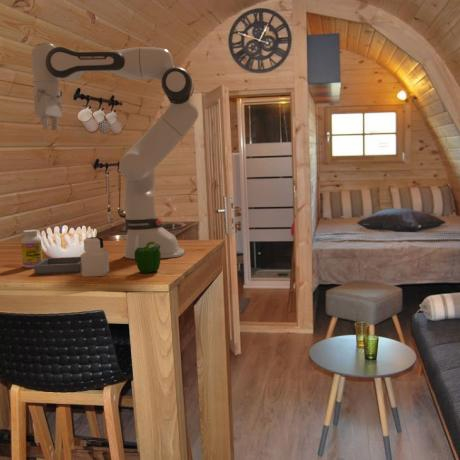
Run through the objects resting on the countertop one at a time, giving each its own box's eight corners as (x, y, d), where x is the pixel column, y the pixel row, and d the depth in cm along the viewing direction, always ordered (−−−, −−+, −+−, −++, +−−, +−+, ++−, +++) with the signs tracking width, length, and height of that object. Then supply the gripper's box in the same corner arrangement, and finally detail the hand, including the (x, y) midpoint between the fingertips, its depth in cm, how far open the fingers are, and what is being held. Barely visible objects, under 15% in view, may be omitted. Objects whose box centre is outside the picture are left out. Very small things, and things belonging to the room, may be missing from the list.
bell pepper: (130, 274, 177) (128, 243, 175) (143, 268, 184) (141, 239, 183) (153, 275, 174) (151, 244, 172) (165, 269, 181) (163, 239, 180)
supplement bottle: (24, 269, 192) (21, 232, 190) (22, 266, 198) (18, 230, 196) (44, 266, 195) (41, 230, 193) (41, 263, 201) (38, 228, 199)
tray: (89, 264, 195) (89, 256, 194) (80, 272, 182) (79, 263, 182) (47, 266, 195) (46, 258, 194) (34, 274, 182) (33, 265, 182)
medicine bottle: (88, 272, 183) (85, 236, 181) (109, 271, 182) (106, 235, 181) (81, 277, 176) (78, 240, 174) (104, 276, 175) (101, 239, 174)
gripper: (46, 87, 188) (49, 128, 190) (63, 93, 209) (67, 130, 211) (27, 88, 188) (31, 129, 190) (47, 94, 209) (50, 131, 211)
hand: (50, 130), depth 201 cm, fingers open, 8 cm apart
